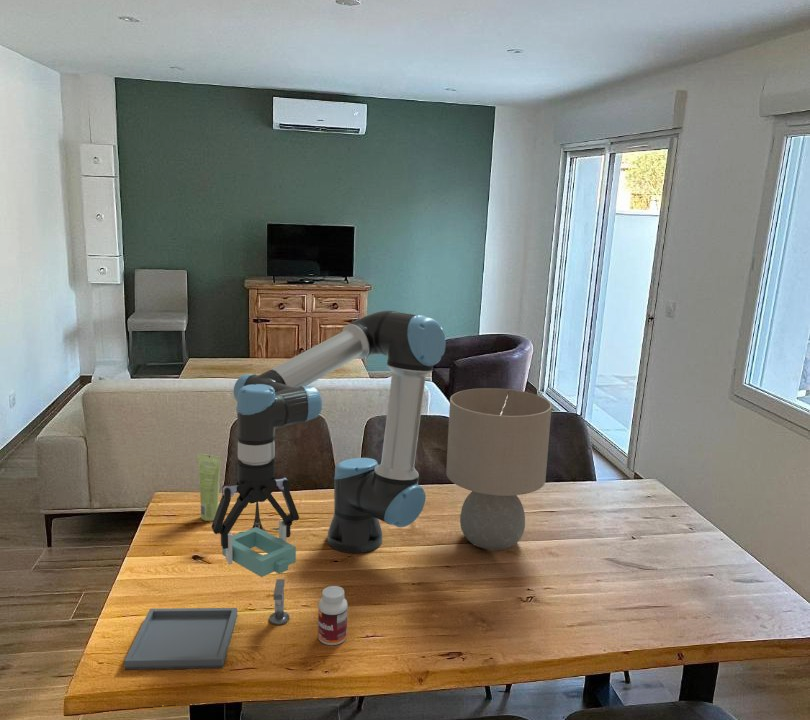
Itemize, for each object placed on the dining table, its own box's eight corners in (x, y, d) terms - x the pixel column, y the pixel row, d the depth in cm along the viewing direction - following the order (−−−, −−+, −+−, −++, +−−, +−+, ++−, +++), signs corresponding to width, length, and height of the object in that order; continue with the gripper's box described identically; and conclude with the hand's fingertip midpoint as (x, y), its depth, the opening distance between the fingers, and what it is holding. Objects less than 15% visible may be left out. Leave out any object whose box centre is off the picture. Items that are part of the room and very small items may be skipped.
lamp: (495, 576, 176) (505, 422, 167) (423, 537, 196) (429, 397, 187) (559, 545, 194) (572, 404, 185) (487, 512, 213) (496, 383, 204)
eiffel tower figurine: (282, 529, 199) (282, 485, 196) (288, 545, 190) (288, 499, 187) (228, 534, 195) (227, 490, 192) (231, 551, 185) (230, 505, 182)
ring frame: (300, 564, 147) (300, 549, 146) (266, 579, 140) (266, 563, 140) (256, 541, 157) (256, 526, 156) (222, 554, 150) (222, 539, 149)
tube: (219, 512, 207) (217, 450, 202) (222, 519, 202) (220, 456, 198) (199, 515, 204) (197, 453, 200) (202, 523, 200) (200, 458, 195)
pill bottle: (311, 637, 149) (312, 591, 147) (332, 625, 154) (333, 580, 151) (332, 650, 145) (332, 603, 143) (352, 637, 150) (353, 591, 148)
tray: (237, 615, 156) (237, 607, 156) (222, 668, 139) (222, 659, 138) (150, 616, 155) (150, 608, 154) (124, 669, 137) (124, 660, 137)
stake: (290, 610, 159) (290, 579, 157) (288, 627, 153) (287, 594, 151) (271, 611, 158) (270, 579, 157) (267, 627, 152) (267, 594, 150)
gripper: (303, 447, 153) (302, 539, 158) (195, 460, 143) (197, 558, 147) (315, 458, 147) (313, 553, 151) (202, 472, 136) (204, 575, 141)
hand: (256, 556), depth 149 cm, fingers closed on ring frame, 11 cm apart
